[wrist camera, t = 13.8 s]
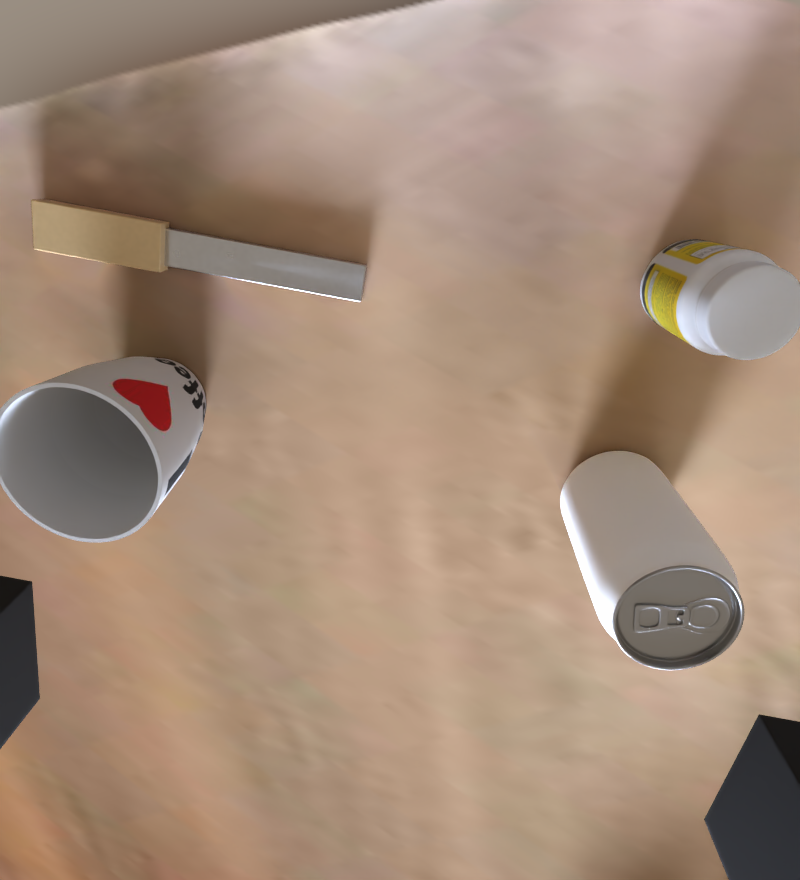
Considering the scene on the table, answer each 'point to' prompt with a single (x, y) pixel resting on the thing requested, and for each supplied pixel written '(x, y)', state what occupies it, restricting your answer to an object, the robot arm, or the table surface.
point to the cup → (100, 445)
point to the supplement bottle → (722, 298)
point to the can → (649, 563)
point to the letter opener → (186, 250)
